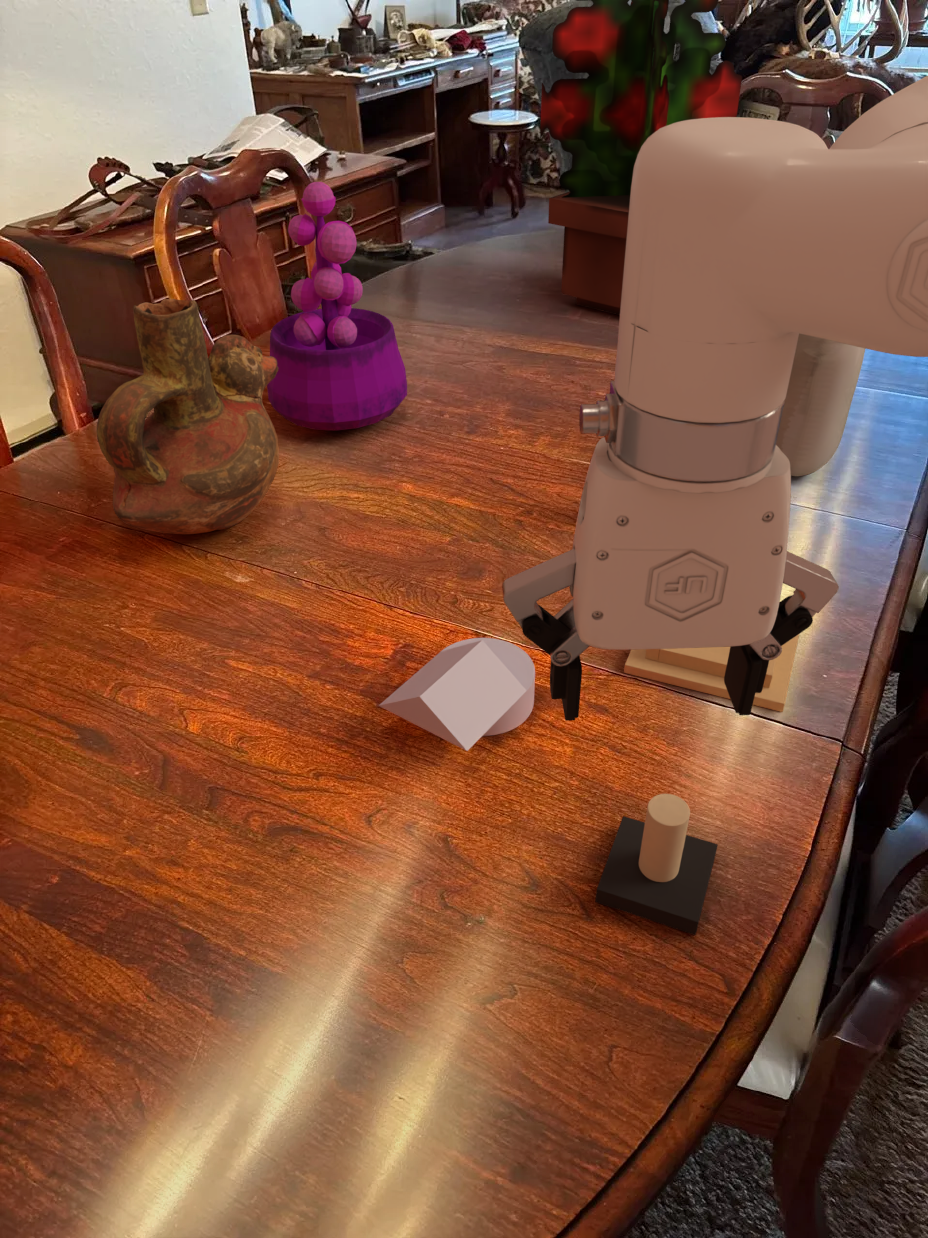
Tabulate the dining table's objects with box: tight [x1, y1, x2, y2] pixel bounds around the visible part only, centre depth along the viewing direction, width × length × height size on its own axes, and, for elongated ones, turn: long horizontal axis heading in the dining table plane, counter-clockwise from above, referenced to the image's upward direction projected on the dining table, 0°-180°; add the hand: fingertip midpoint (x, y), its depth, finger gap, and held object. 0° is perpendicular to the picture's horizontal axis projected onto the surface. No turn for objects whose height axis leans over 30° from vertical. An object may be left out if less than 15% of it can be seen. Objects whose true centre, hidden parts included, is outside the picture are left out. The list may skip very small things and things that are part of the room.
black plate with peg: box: [594, 793, 719, 936], centre depth 63 cm, size 7×7×8 cm
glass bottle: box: [776, 333, 866, 477], centre depth 105 cm, size 10×10×28 cm
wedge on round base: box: [378, 637, 536, 752], centre depth 78 cm, size 9×7×13 cm
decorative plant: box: [266, 181, 408, 431], centre depth 118 cm, size 19×18×30 cm
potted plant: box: [539, 0, 743, 316], centre depth 149 cm, size 22×22×45 cm
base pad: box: [623, 634, 800, 713], centre depth 86 cm, size 14×14×2 cm
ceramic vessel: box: [96, 298, 280, 535], centre depth 99 cm, size 17×26×25 cm, turn 152°
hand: (652, 701), depth 53 cm, fingers open, 9 cm apart
